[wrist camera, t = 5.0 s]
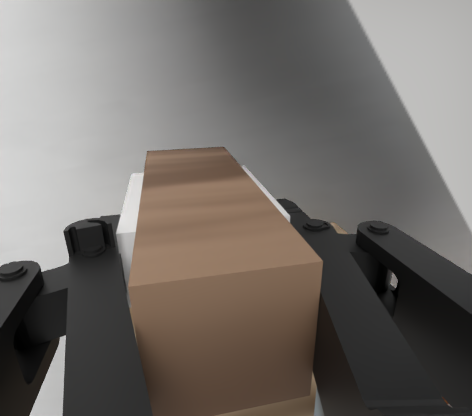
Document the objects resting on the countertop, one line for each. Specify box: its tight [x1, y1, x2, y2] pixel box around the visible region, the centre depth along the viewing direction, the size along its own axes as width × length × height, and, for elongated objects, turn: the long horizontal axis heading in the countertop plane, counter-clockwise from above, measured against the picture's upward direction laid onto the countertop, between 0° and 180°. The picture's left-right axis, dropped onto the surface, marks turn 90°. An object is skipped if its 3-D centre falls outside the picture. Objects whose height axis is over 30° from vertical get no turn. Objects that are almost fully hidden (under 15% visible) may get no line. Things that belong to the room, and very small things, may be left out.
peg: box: [128, 147, 323, 416], centre depth 13 cm, size 4×4×12 cm
